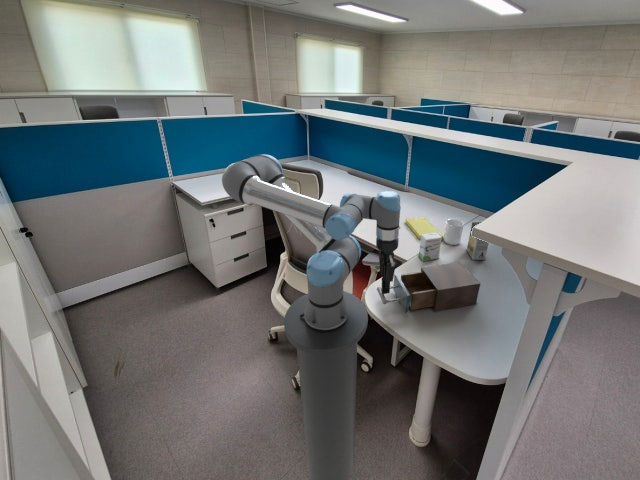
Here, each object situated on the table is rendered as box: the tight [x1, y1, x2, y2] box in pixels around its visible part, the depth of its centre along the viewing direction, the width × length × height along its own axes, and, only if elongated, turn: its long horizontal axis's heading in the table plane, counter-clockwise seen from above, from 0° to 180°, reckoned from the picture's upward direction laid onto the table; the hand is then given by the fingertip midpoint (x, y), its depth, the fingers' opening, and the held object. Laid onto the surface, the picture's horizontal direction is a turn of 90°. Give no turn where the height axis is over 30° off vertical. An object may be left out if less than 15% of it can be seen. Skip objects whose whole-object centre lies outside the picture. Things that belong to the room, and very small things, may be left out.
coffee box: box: [466, 221, 490, 261], centre depth 145 cm, size 9×6×16 cm
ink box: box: [418, 233, 442, 262], centre depth 142 cm, size 8×5×12 cm, turn 109°
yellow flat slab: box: [405, 217, 444, 241], centre depth 169 cm, size 12×2×24 cm
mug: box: [443, 218, 465, 246], centre depth 159 cm, size 12×9×11 cm
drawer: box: [376, 271, 437, 314], centre depth 114 cm, size 24×13×8 cm, turn 106°
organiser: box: [420, 261, 481, 312], centre depth 118 cm, size 18×15×10 cm
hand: (385, 292), depth 111 cm, fingers closed
